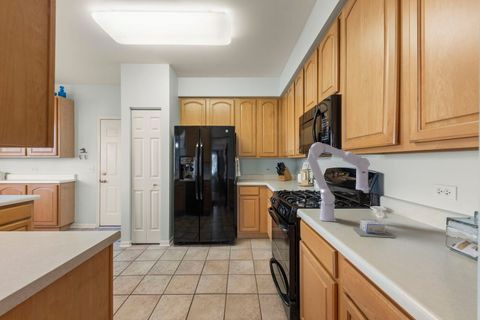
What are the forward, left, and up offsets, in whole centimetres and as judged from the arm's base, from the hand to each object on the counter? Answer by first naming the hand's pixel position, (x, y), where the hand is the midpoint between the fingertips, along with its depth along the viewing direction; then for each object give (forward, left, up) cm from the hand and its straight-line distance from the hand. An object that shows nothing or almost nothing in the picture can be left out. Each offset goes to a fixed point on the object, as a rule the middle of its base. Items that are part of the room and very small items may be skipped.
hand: (361, 204), depth 129 cm
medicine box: (+15, -2, -7) cm, 16 cm away
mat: (+22, -2, -9) cm, 24 cm away
